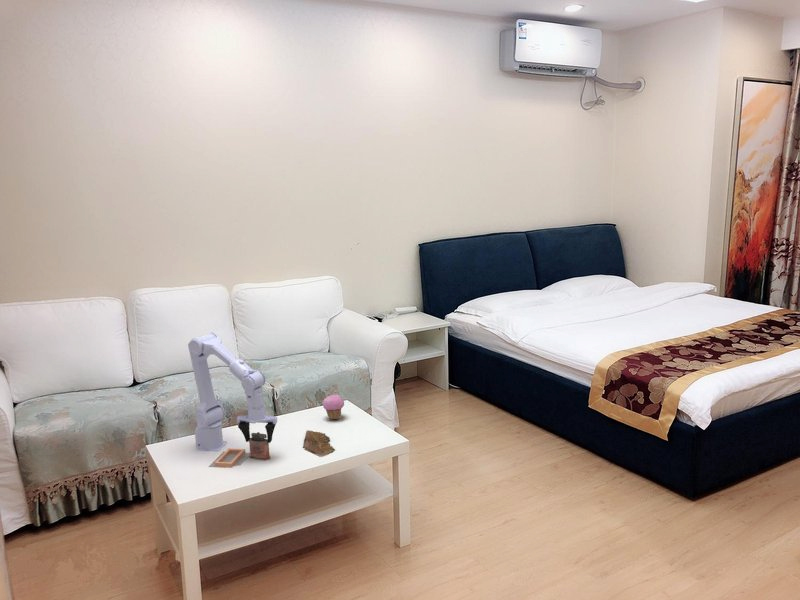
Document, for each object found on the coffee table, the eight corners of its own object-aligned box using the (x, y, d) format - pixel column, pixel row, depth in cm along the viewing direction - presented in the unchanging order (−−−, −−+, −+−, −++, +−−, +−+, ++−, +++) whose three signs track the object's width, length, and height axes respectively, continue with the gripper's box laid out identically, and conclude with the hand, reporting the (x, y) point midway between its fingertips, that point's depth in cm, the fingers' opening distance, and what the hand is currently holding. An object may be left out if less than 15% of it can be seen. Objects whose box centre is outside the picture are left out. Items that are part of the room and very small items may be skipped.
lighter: (248, 459, 222) (245, 433, 220) (253, 455, 225) (251, 430, 223) (267, 462, 219) (264, 436, 217) (272, 458, 222) (270, 432, 220)
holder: (208, 468, 216) (208, 462, 215) (223, 452, 227) (223, 447, 227) (237, 469, 214) (237, 464, 213) (251, 454, 225) (251, 449, 225)
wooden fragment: (337, 454, 222) (336, 452, 221) (307, 462, 219) (307, 459, 218) (324, 427, 246) (323, 425, 245) (297, 434, 243) (296, 431, 242)
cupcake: (345, 413, 261) (344, 391, 259) (344, 421, 252) (342, 399, 250) (324, 414, 261) (323, 392, 259) (322, 422, 252) (321, 399, 250)
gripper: (231, 409, 215) (235, 445, 218) (270, 410, 212) (274, 446, 215) (240, 402, 222) (243, 437, 224) (278, 402, 219) (281, 438, 222)
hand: (259, 441), depth 220 cm, fingers closed on lighter, 7 cm apart
